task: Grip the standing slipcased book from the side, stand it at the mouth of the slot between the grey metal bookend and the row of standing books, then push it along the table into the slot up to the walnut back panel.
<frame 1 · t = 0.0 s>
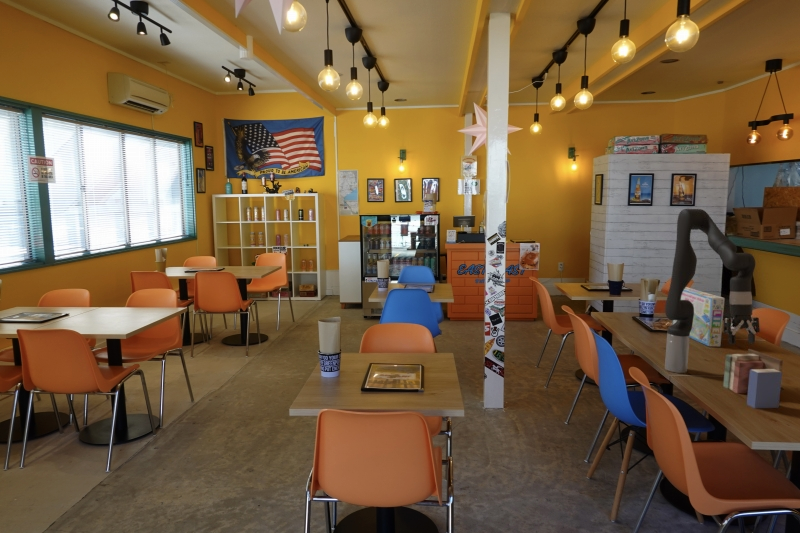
hand: (741, 343, 209), 22 cm above the table, tool pointing down, fingers open, 8 cm apart
chocolate bar: (760, 383, 232), on the table
boxed book: (762, 406, 204), on the table
game box: (694, 338, 308), on the table
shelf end: (742, 395, 214), on the table
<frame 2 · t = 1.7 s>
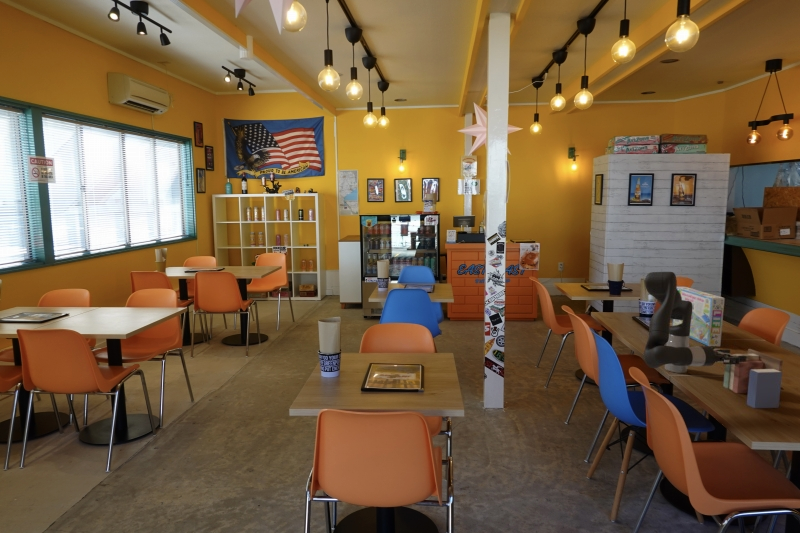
hand: (737, 355, 202), 20 cm above the table, tool horizontal, fingers open, 8 cm apart
nothing on the table moved.
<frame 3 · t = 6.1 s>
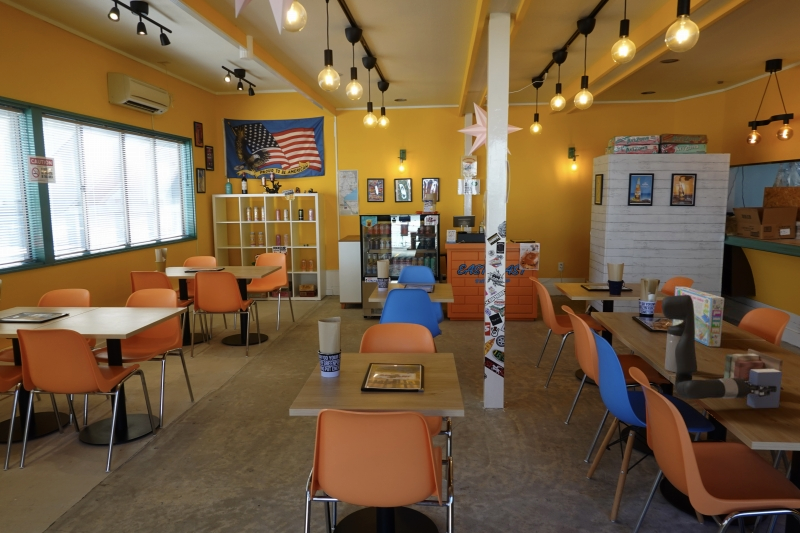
hand: (770, 386, 203), 8 cm above the table, tool horizontal, fingers closed on boxed book, 4 cm apart
boxed book: (762, 405, 204), on the table, touching gripper
everything else where it was.
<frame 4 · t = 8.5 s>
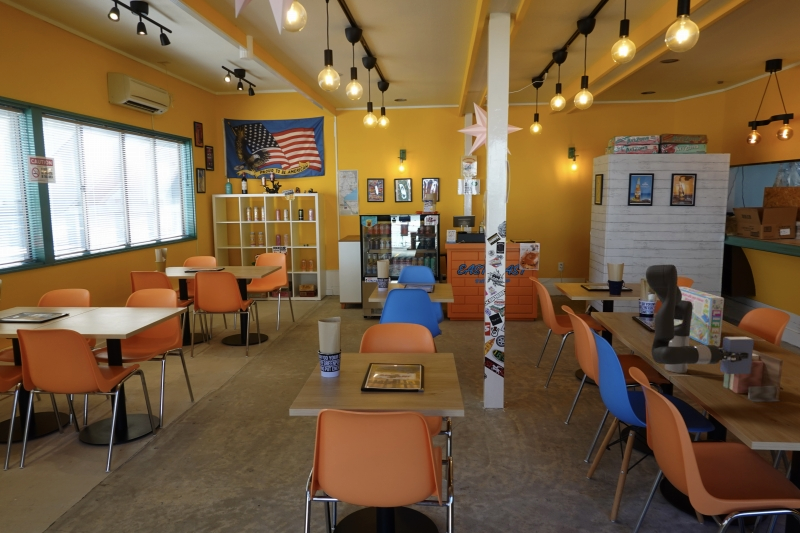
hand: (743, 353, 212), 18 cm above the table, tool horizontal, fingers closed on boxed book, 4 cm apart
boxed book: (735, 372, 213), point 10 cm above the table, touching gripper
everything else where it was.
when the fingers open (8 cm above the table, at t = 11.0 s): boxed book stays where it is, on the table.
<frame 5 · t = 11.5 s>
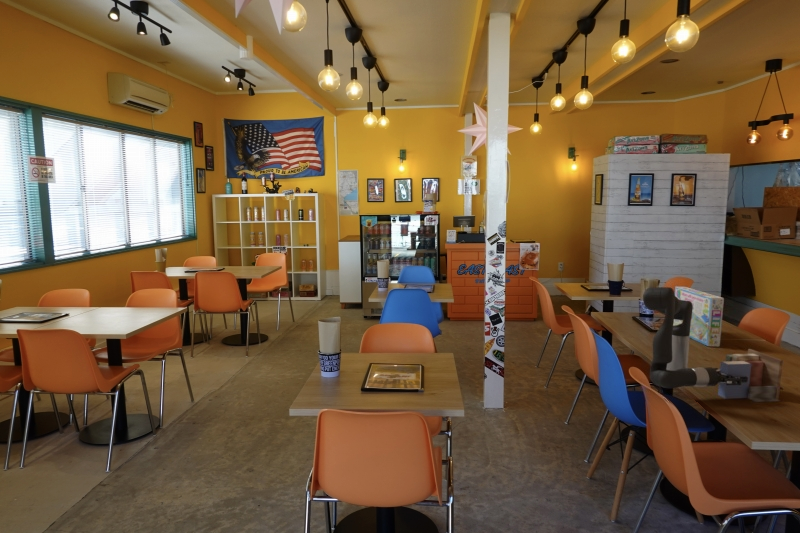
hand: (739, 375, 213), 9 cm above the table, tool horizontal, fingers open, 8 cm apart
boxed book: (732, 396, 214), on the table
everything else where it was.
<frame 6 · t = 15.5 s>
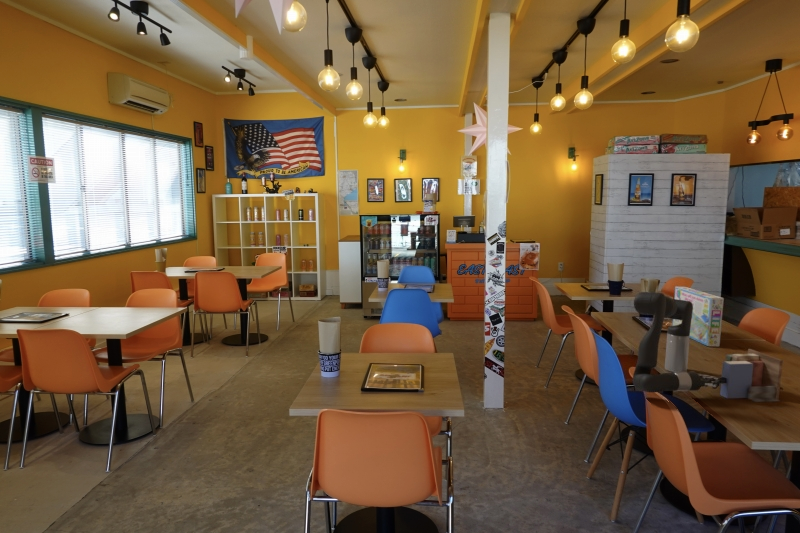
hand: (724, 380, 213), 7 cm above the table, tool horizontal, fingers closed
boxed book: (735, 396, 214), on the table, touching gripper
everything else where it was.
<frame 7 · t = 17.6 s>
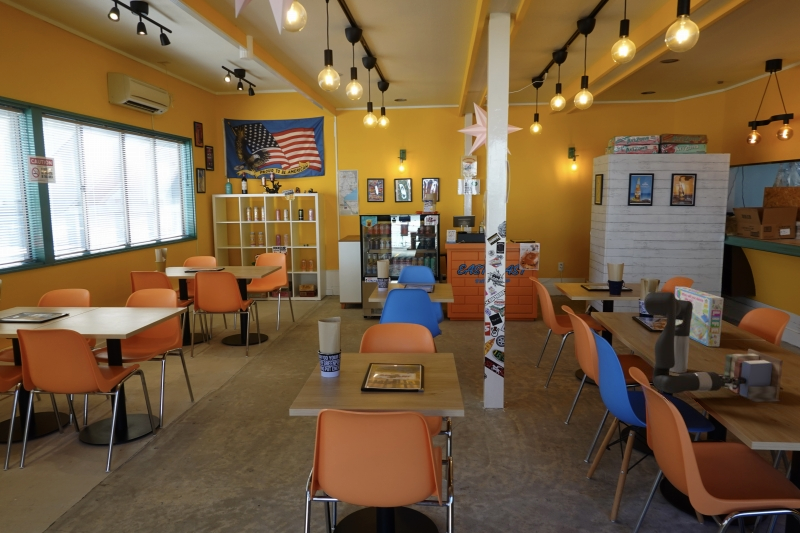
hand: (744, 380, 214), 7 cm above the table, tool horizontal, fingers closed
boxed book: (754, 395, 215), on the table, touching gripper
everything else where it was.
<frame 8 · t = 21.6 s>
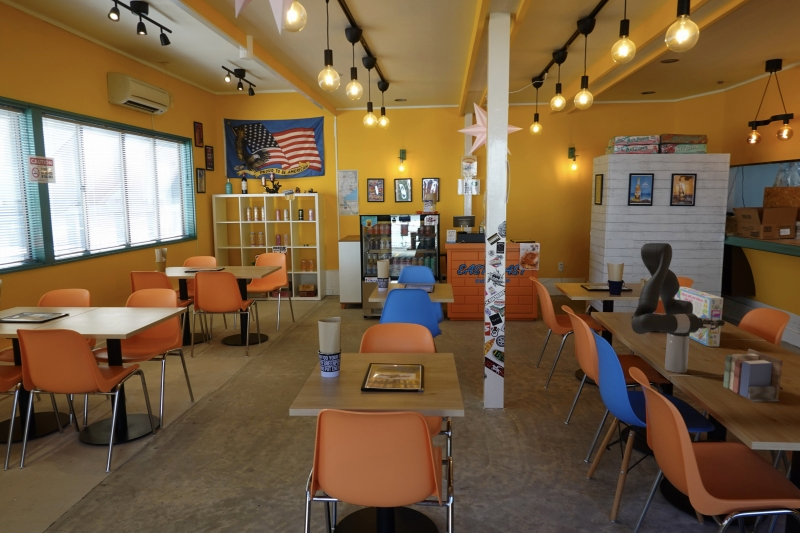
hand: (723, 322, 212), 30 cm above the table, tool horizontal, fingers closed
boxed book: (754, 395, 215), on the table
everything else where it was.
at the end: boxed book 0.7 cm from the target spot on the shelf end, point 0.0 cm above the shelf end's base; boxed book tilted 0° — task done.
